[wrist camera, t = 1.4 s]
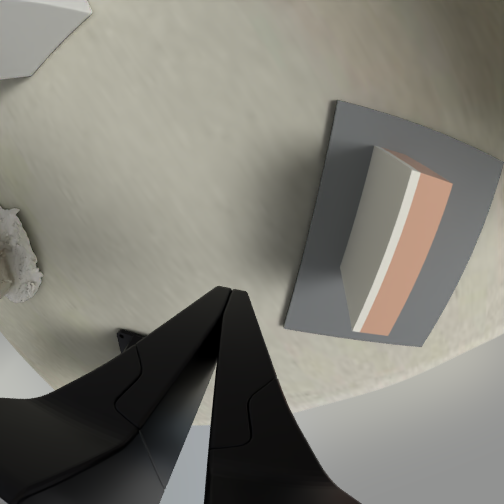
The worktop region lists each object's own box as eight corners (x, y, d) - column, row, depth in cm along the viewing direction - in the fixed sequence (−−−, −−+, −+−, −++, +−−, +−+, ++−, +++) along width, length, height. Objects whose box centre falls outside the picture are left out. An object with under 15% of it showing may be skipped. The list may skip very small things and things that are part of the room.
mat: (420, 343, 22) (421, 347, 21) (283, 324, 22) (283, 328, 22) (500, 160, 14) (503, 162, 14) (337, 100, 15) (338, 100, 14)
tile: (368, 272, 19) (387, 335, 14) (339, 267, 19) (352, 331, 14) (405, 154, 15) (453, 183, 10) (374, 145, 15) (412, 169, 10)
